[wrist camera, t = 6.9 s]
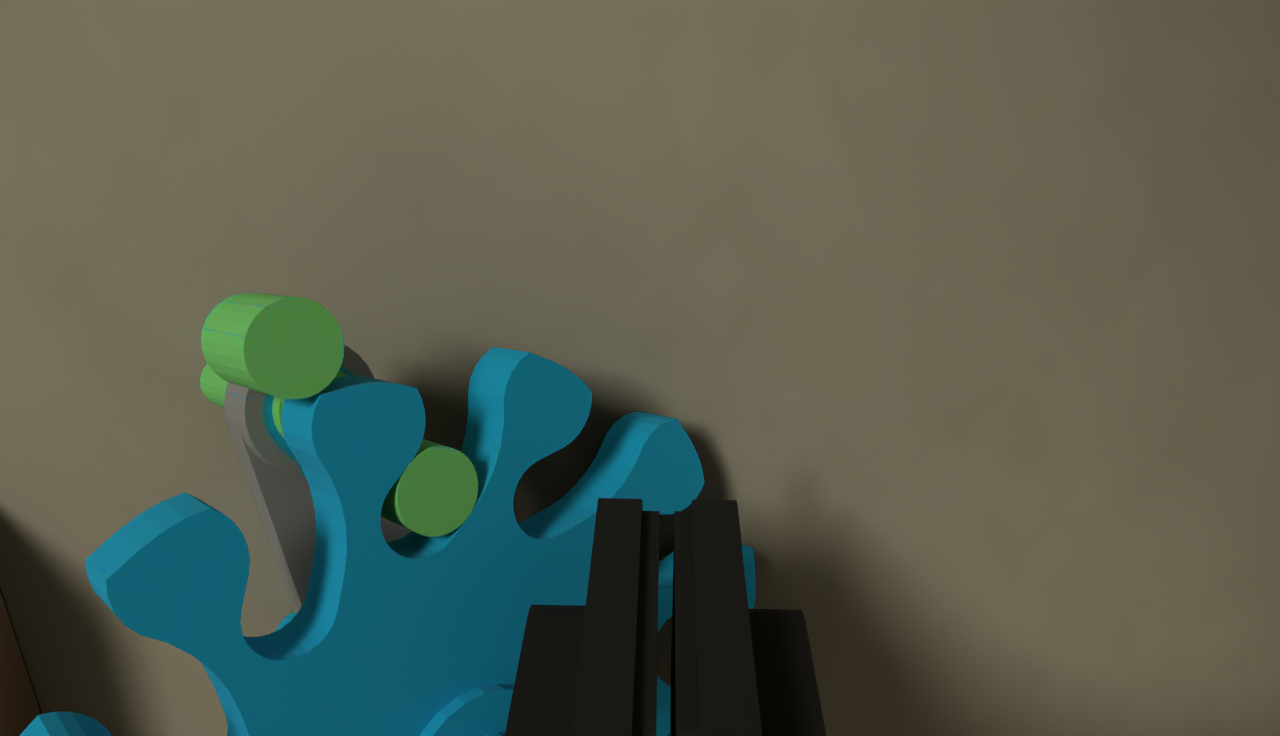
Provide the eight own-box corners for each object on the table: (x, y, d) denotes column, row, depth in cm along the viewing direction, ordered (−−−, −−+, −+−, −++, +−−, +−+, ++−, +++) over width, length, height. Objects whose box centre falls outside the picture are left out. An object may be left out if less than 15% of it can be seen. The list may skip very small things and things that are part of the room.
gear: (842, 859, 16) (231, 1483, 10) (608, 725, 21) (89, 1109, 15) (708, 165, 13) (-293, 503, 7) (465, 186, 17) (-272, 404, 12)
